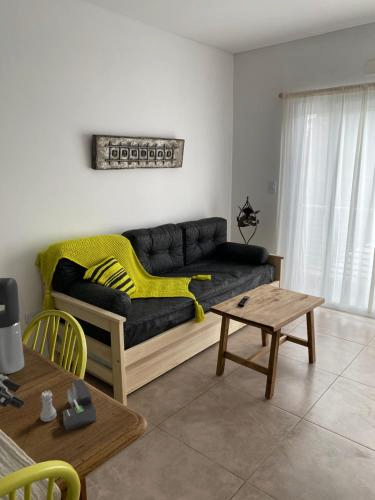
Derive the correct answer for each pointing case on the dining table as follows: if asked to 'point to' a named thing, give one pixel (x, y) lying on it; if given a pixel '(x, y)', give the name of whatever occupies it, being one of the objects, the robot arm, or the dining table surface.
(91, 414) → the gauge frame
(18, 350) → the robot arm
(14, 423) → the dining table surface
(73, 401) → the gauge plate
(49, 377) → the dining table surface
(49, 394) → the rook chess piece
